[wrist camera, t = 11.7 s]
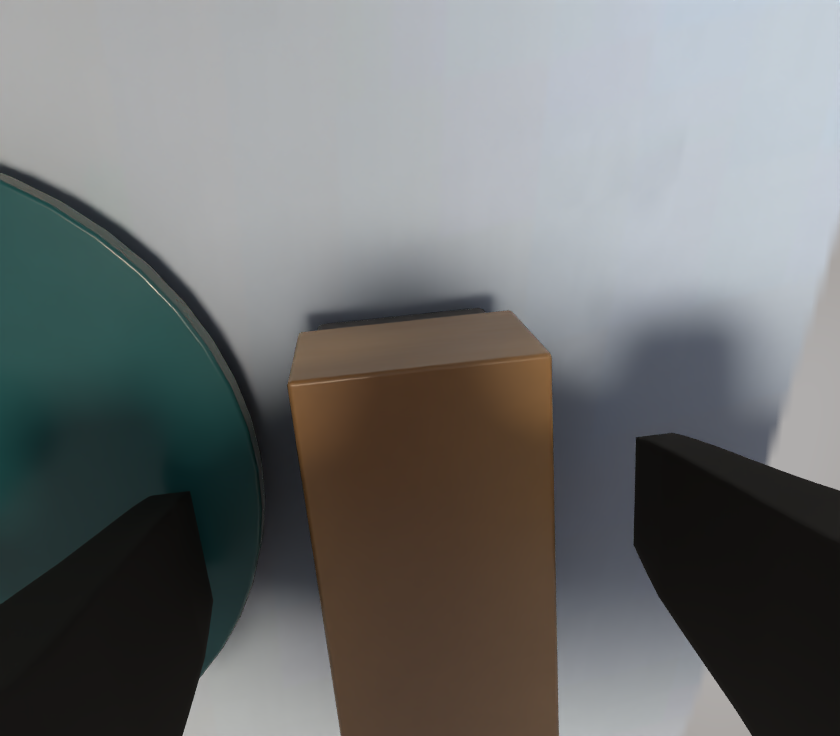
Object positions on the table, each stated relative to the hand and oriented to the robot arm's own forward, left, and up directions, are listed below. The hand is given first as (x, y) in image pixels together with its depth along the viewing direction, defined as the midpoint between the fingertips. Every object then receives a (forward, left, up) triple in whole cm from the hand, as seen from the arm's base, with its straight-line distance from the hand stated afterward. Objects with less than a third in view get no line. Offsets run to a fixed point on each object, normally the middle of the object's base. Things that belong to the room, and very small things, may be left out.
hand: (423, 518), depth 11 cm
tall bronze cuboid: (0, 0, -2) cm, 2 cm away
